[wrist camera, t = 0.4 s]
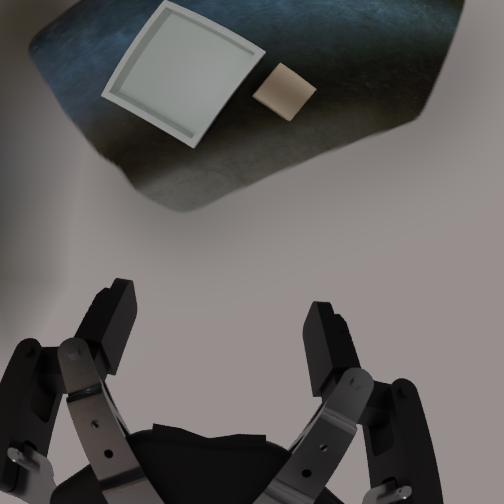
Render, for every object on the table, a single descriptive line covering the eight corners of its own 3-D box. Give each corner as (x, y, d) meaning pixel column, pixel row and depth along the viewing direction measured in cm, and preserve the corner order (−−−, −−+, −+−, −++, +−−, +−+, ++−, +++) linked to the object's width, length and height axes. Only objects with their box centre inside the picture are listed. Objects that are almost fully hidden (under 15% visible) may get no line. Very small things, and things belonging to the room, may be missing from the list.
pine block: (274, 68, 27) (280, 62, 22) (304, 90, 29) (316, 89, 24) (251, 96, 29) (253, 95, 24) (282, 117, 31) (289, 121, 25)
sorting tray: (171, 7, 22) (164, -1, 19) (263, 56, 26) (265, 51, 23) (113, 94, 27) (101, 95, 24) (198, 143, 32) (193, 148, 29)
